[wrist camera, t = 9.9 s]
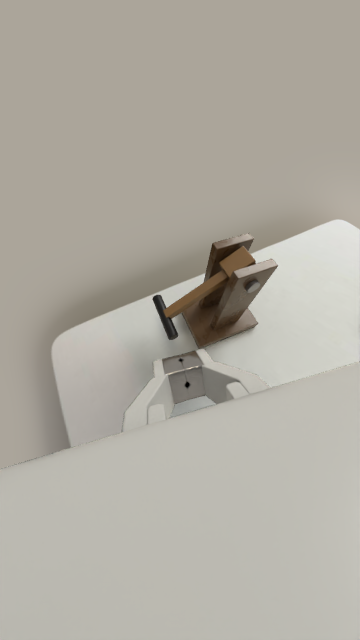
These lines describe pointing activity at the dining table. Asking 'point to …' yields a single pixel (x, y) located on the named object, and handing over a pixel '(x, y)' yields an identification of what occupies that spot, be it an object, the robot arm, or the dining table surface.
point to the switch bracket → (227, 296)
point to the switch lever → (202, 289)
